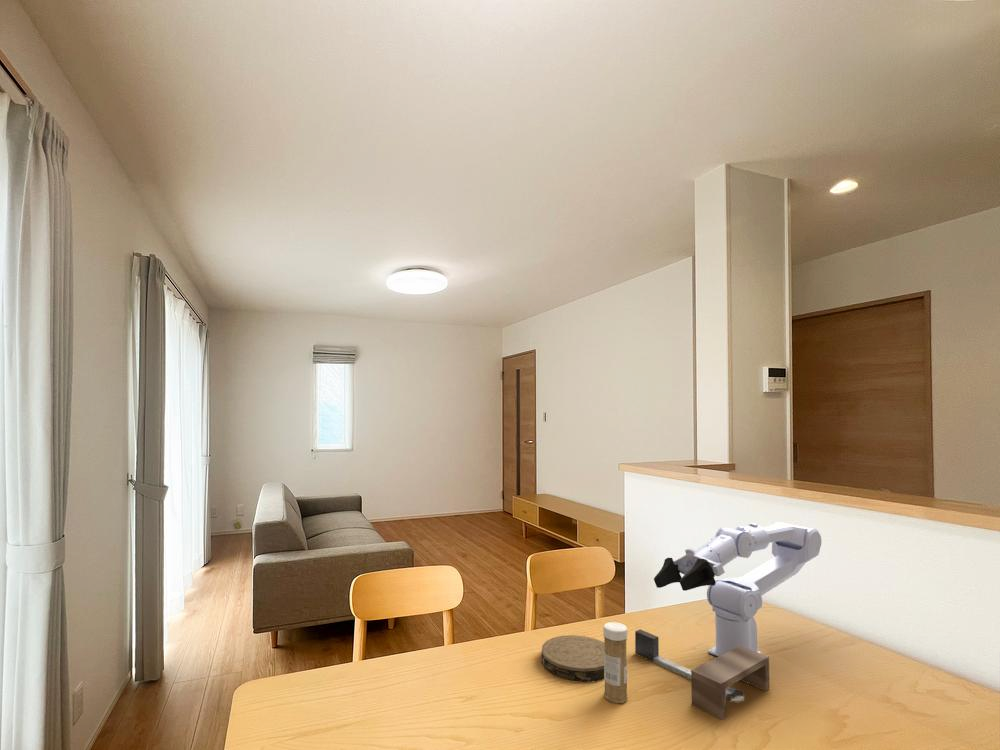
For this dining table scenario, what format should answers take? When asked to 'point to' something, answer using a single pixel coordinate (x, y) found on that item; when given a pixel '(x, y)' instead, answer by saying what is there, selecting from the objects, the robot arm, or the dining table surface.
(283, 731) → the dining table surface
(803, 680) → the dining table surface
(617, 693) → the sprinkles bottle
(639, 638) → the blade tool
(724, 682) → the walnut shelf
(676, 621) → the dining table surface
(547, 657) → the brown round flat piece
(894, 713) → the dining table surface
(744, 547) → the robot arm
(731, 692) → the steel token
